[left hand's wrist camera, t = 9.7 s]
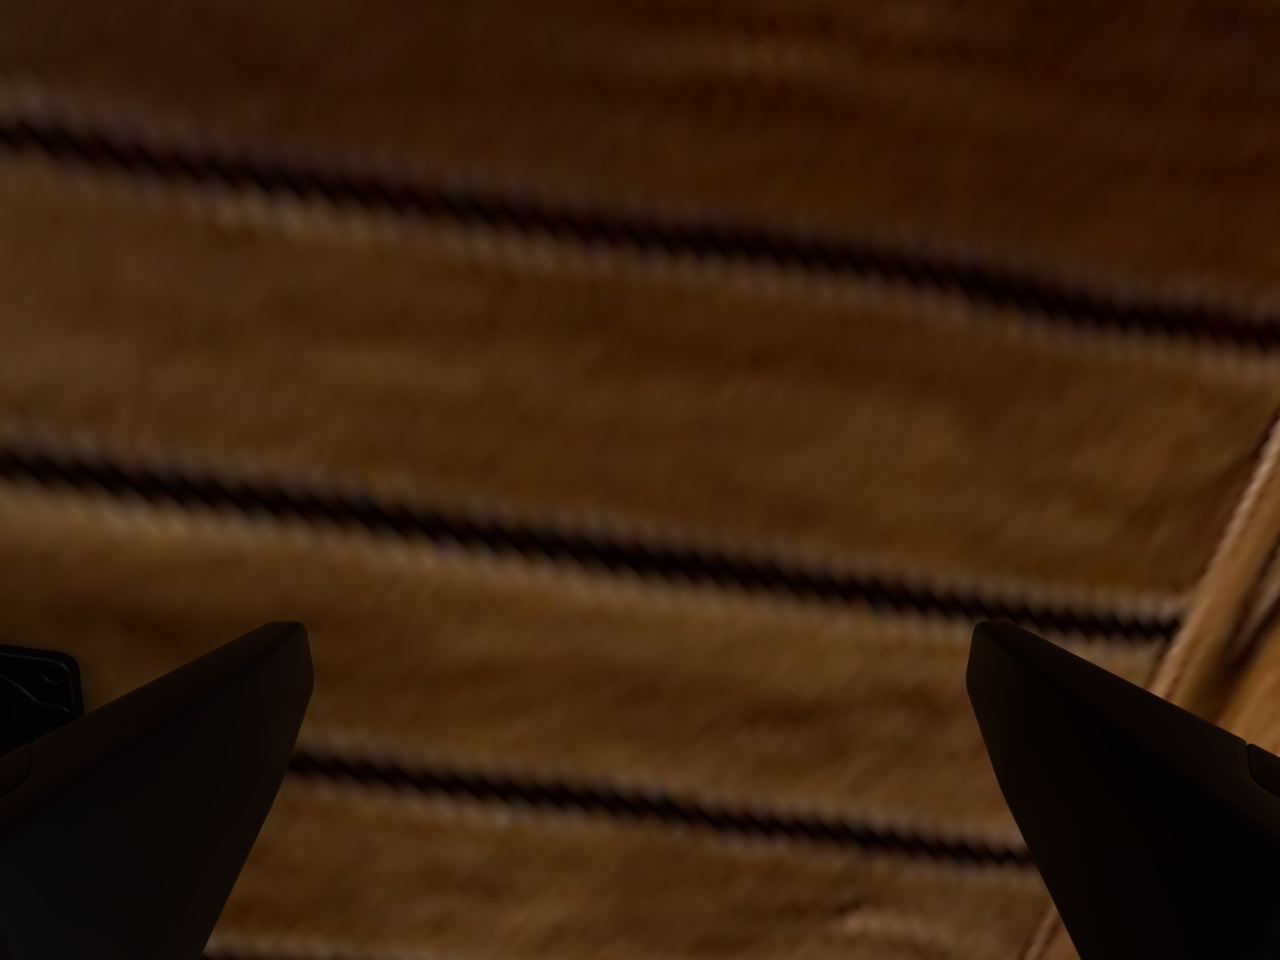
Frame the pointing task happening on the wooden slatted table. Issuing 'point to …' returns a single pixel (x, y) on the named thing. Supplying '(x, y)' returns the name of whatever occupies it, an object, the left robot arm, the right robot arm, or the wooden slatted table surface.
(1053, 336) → the wooden slatted table surface
